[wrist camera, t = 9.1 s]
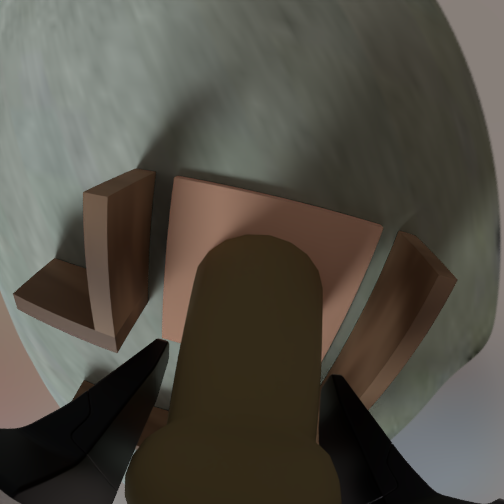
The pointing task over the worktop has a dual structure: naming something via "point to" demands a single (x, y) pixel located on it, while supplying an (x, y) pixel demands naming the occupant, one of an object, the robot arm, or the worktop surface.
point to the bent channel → (136, 292)
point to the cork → (244, 387)
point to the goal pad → (262, 223)
